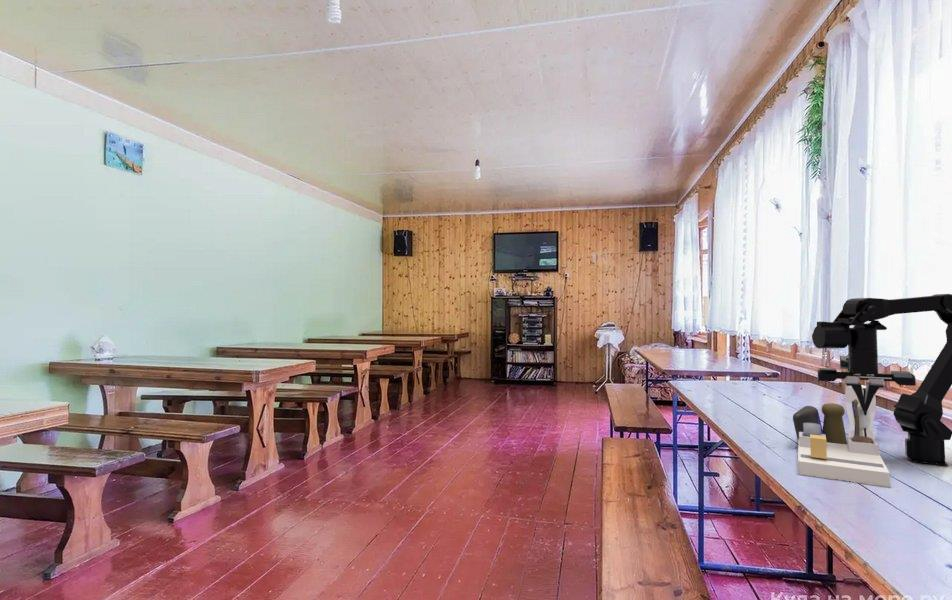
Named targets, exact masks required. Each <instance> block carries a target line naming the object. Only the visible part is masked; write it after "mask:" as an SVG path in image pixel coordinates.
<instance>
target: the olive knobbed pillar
mask: <svg viewBox="0 0 952 600" xmlns="http://www.w3.org/2000/svg"><path fill="white" fill-rule="evenodd" d="M845 411H846V410H845V407H844V406H843V405H841V404H839V403H832V402H830V403H829V402H828V403H824V404H823V405H822V406H821V412H822V414H823V423H822V430H823V434H825V435H826V442H828V443H837V444H846V445H847V433H846V431H845V424H844V419H843V417H844V415H845V414H846V413H845Z"/></svg>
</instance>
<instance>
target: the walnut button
mask: <svg viewBox="0 0 952 600" xmlns="http://www.w3.org/2000/svg"><path fill="white" fill-rule="evenodd" d="M853 442H862V443H871V444H872V439H871V438H869V437H864V436H853Z"/></svg>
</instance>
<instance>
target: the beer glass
mask: <svg viewBox="0 0 952 600" xmlns="http://www.w3.org/2000/svg"><path fill="white" fill-rule="evenodd" d="M861 386H862V391H863V397H864V403H865V394H866V384H865V385H864V384H863V385H862V384H861ZM844 393H845V394H844V400H845V401H844V402H845V403H844V404H845V409H846V410H845V411H846V413H847V416H848V421H849V422H848V423H849V430H848V435H847V437H853V436H864V437H869V438H871V439H875V440H876V437H875V433H874V421H875V415H876V409H877V407H876V406H877V405H876V404H877V398H876V394H875V395H874V397H873V399H872V401H871V403H870V406H869V408H868V411H867V412H865V411H863V410H862V408H861V405H860V403H859V400H858V398H857V396H856V393H855V392H854V390H853V388H852V386H847V385H846V384H845V391H844Z"/></svg>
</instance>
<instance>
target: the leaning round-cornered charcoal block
mask: <svg viewBox="0 0 952 600" xmlns="http://www.w3.org/2000/svg"><path fill="white" fill-rule="evenodd" d="M792 422H793V425H794V431H795V435H796V439H797V441H798V440H799V432H804V427H803V423H816V424H820V425H821V434H823V425H822V421H821V418H820V413H819V409H817V408H816V407H815V406H813V405H805V406H802V408H801V409H799V410H797V411H796V412H795V413H794V414H792Z"/></svg>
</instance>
